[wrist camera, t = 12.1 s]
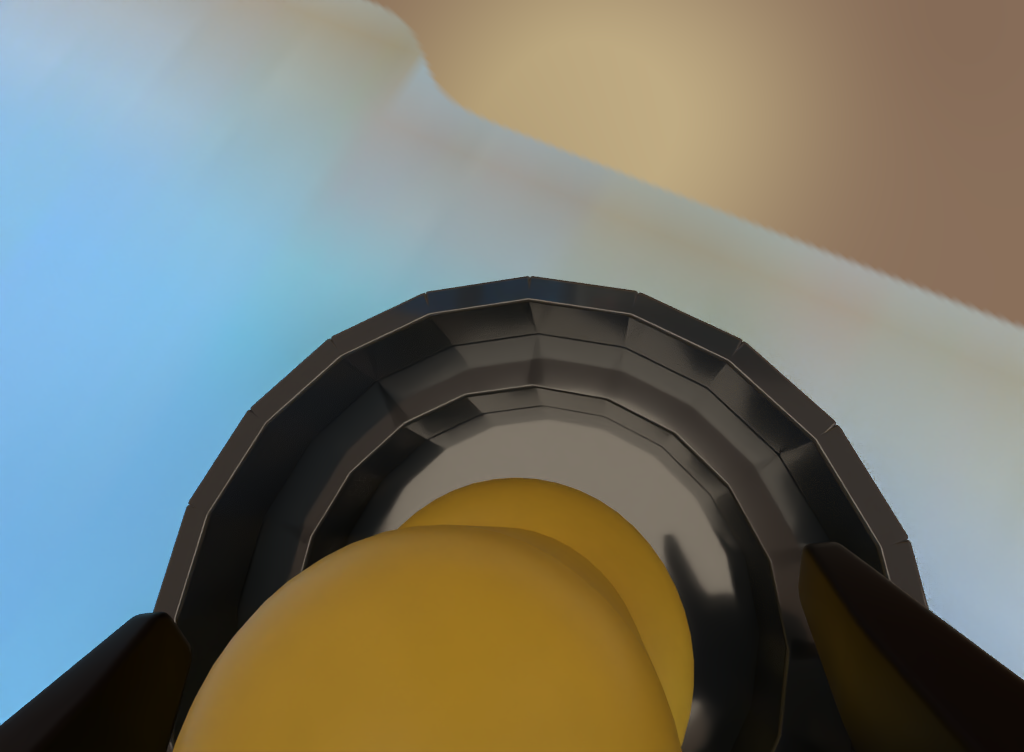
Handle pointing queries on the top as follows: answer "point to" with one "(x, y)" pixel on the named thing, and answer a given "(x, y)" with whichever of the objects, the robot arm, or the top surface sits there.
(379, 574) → the squash
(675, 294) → the top surface
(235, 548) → the black metal bowl
